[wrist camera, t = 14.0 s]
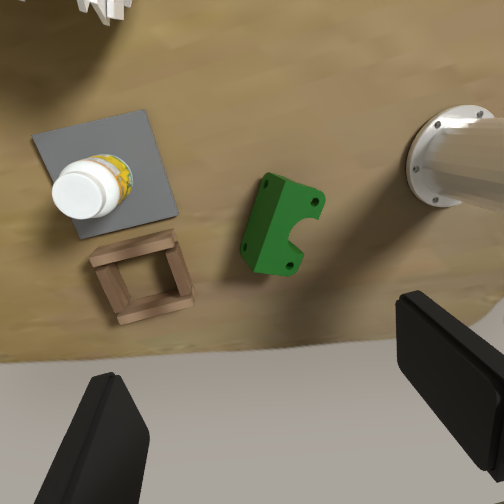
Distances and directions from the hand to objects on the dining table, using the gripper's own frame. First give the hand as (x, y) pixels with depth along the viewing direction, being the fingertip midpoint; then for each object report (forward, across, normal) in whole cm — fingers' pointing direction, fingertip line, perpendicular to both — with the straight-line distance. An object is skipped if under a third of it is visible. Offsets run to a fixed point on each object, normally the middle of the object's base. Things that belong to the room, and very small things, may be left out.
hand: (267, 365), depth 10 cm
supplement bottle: (+30, +12, -4) cm, 32 cm away
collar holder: (+30, +12, +8) cm, 34 cm away
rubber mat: (+30, +12, -4) cm, 33 cm away
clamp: (+31, -6, +5) cm, 32 cm away
